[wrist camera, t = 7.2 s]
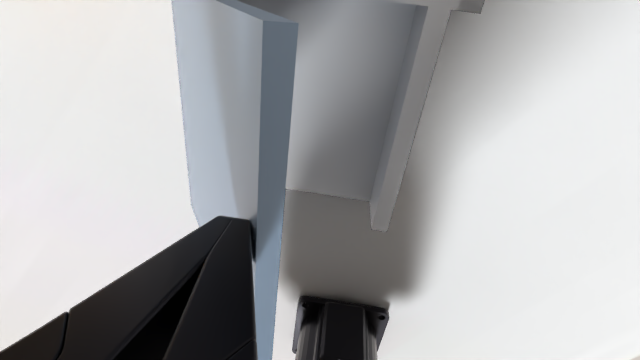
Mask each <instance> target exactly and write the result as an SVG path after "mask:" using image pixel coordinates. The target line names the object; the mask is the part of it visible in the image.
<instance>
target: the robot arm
mask: <svg viewBox="0 0 640 360" xmlns="http://www.w3.org/2000/svg"><path fill="white" fill-rule="evenodd" d="M388 320H389V312H388V310H386V309H384V308H378V307H371V306H365V305H359V304H353V303H346V302H340V301H334V300H328V299H321V298H315V297H309V296H302V297H300V298H299V302H298V309H297V317H296V324H295V332H294V340H293V347H292V351H293V353H295V354H296V358H295V360H377V351H378V348H379V345H380V342H381V340H382V337H383V334H384V331H385V328H386V326H387V323H388ZM0 360H258V352H257V342H256V320H255V302H254V284H253V266H252V248H251V230H250V221H249V220H248V219H242V218H234V217H229V216H222V215H221V216H220V215H219V216H217V217H215V218H213V219H212V220H210V221H209V222H207V223H206V224H204V225H202V226H201V227H199V228H198V229H196V230H194V231H193V232H191V233H190V234H188V235H186V236H185V237H183V238H182V239H180V240H179V241H177V242H175V243H174V244H172V245H171V246H169V247H167V248H166V249H164V250H163V251H161V252H160V253H158V254H156V255H155V256H153V257H152V258H150V259H148V260H147V261H145V262H144V263H142V264H140V265H139V266H137V267H136V268H134V269H133V270H131V271H129V272H128V273H126V274H125V275H123V276H121V277H120V278H118V279H117V280H115V281H114V282H112V283H110V284H109V285H107V286H106V287H104V288H102V289H101V290H99V291H98V292H96V293H94V294H93V295H91V296H90V297H88V298H87V299H85V300H83V301H82V302H80V303H79V304H77V305H75V306H74V307H72V308H71V309H70V310H69V312H64V313H62V314H61V315H59V316H58V317H56V318H55V319H53V320H51V321H50V322H48V323H47V324H45V325H43V326H42V327H40V328H39V329H37V330H35V331H34V332H32V333H30V334H29V335H27V336H25V337H24V338H22V339H20V340H19V341H17V342H15V343H14V344H12V345H11V346H9V347H7V348H6V349H4V350H2V351H0Z"/></svg>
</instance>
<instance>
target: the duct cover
mask: <svg viewBox="0 0 640 360" xmlns="http://www.w3.org/2000/svg"><path fill="white" fill-rule="evenodd" d="M172 10H173V21H174V31H175V41H176V52H177V62H178V73H179V83H180V93H181V104H182V114H183V125H184V135H185V145H186V156H187V166H188V176H189V187H190V197H191V206H192V208H193V211H194V214H195V216H196V219H197V222H198V224H199V227H201V226H202V225H204V224H206V223H207V222H209V221H210V220H212V219H213V218H215V217H217V216H219V215H220V216H221V215H222V216H229V217H234V218H242V219H248V220H249V221H250V230H251V248H252V266H253V284H254V302H255V320H256V342H257V352H258V360H272V352H273V339H274V326H275V314H276V301H277V289H278V276H279V264H280V251H281V239H282V226H283V214H284V201H285V189H286V176H287V164H288V151H289V139H290V126H291V114H292V101H293V89H294V76H295V63H296V51H297V38H298V26H299V23H297V22H294V21H292V20H289V19H286V18H283V17H281V16H278V15H275V14H272V13H270V12H267V11H264V10H262V9H259V8H256V7H253V6H251V5H248V4H245V3H242V2H240V1H237V0H172Z"/></svg>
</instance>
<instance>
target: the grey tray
mask: <svg viewBox="0 0 640 360" xmlns="http://www.w3.org/2000/svg"><path fill="white" fill-rule="evenodd" d="M237 1H240V2H242V3H245V4H248V5H251V6H253V7H256V8H259V9H262V10H264V11H267V12H270V13H272V14H275V15H278V16H281V17H283V18H286V19H289V20H292V21H294V22H297V23H299V26H298V38H297V51H296V63H295V76H294V89H293V101H292V114H291V126H290V139H289V151H288V164H287V176H286V189H290V190H297V191H303V192H310V193H316V194H323V195H329V196H336V197H342V198H349V199H355V200H362V201H368V202H370V218H371V230H377V231H383V232H387V230H388V227H389V224H390V220H391V217H392V213H393V210H394V206H395V203H396V199H397V196H398V192H399V189H400V186H401V182H402V179H403V175H404V172H405V168H406V165H407V161H408V158H409V154H410V151H411V148H412V144H413V141H414V137H415V134H416V130H417V127H418V123H419V120H420V117H421V113H422V110H423V106H424V103H425V99H426V96H427V92H428V89H429V85H430V82H431V79H432V75H433V72H434V68H435V65H436V61H437V58H438V54H439V51H440V47H441V44H442V41H443V37H444V34H445V30H446V27H447V23H448V20H449V16H450V13H451V10H457V11H464V12H471V13H478V14H480V13H481V10H482V7H483V4H484V1H485V0H237Z"/></svg>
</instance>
